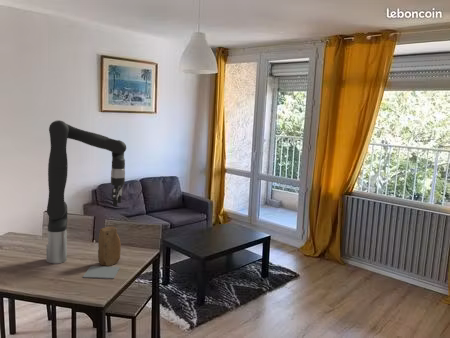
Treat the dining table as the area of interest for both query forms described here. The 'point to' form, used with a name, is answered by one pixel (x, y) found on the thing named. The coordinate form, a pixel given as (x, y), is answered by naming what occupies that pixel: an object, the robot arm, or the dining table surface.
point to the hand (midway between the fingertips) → (116, 204)
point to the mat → (101, 272)
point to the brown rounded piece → (108, 246)
